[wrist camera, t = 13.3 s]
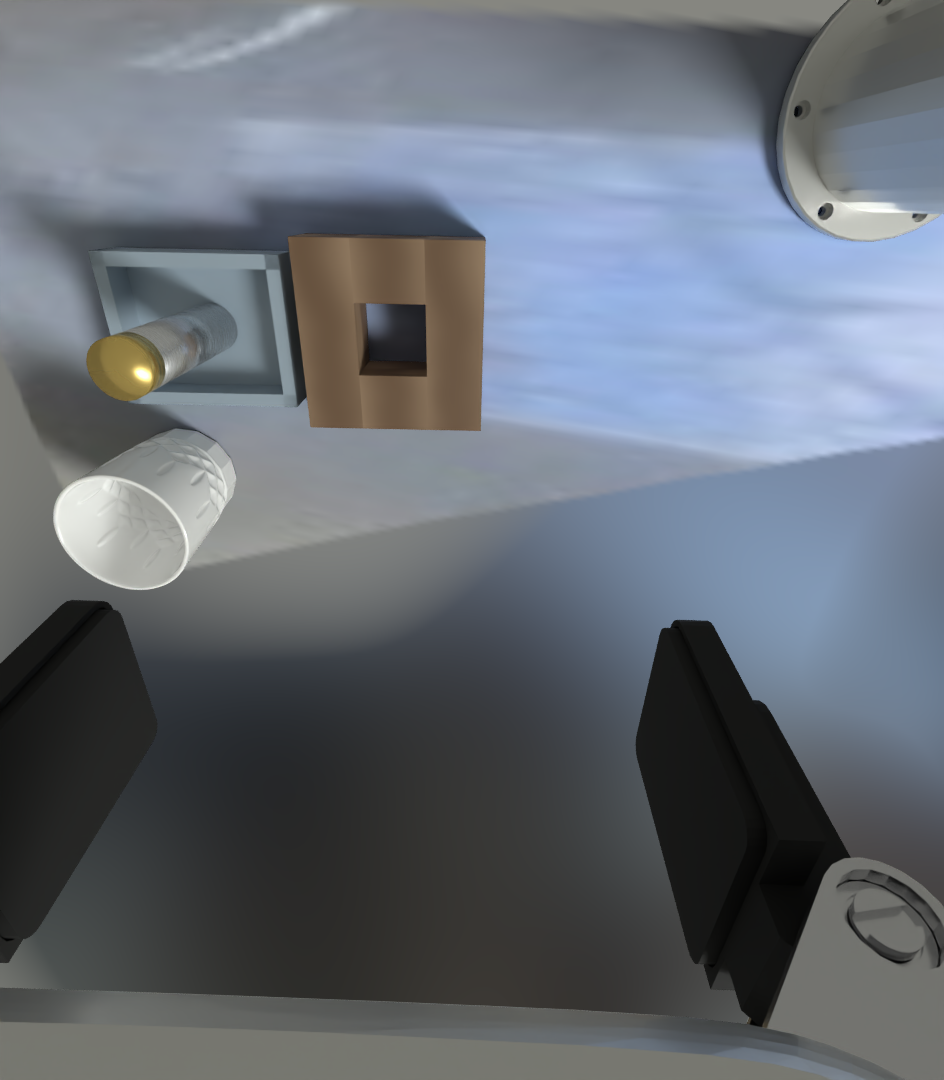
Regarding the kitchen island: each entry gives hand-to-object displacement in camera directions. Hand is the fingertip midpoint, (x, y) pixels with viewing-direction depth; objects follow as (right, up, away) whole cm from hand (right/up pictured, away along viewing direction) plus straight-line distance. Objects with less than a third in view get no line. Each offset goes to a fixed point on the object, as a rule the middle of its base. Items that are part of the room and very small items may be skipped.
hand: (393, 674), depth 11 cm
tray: (-15, +17, +29) cm, 37 cm away
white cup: (-20, +8, +34) cm, 40 cm away
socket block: (-3, +16, +29) cm, 33 cm away
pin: (-15, +16, +28) cm, 36 cm away
